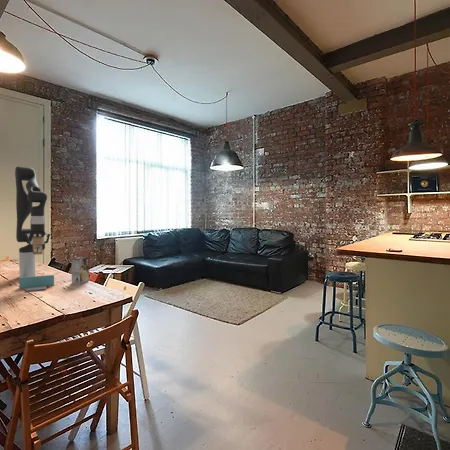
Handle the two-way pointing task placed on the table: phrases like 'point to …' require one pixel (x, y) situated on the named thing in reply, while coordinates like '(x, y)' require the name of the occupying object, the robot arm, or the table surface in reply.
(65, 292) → the table surface
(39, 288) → the dark gray upright panel
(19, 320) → the table surface
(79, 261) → the coffee box
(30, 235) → the robot arm
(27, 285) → the teal board
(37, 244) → the wooden block
